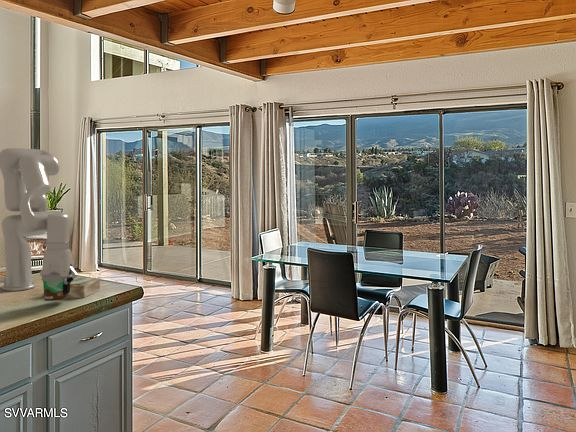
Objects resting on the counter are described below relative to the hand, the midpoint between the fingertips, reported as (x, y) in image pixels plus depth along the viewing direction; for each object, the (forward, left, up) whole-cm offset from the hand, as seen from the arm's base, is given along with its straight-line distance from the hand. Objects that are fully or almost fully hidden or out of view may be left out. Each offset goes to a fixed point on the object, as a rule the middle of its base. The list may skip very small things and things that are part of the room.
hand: (59, 292), depth 176 cm
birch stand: (-3, +16, -4) cm, 17 cm away
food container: (+1, 0, -2) cm, 2 cm away
